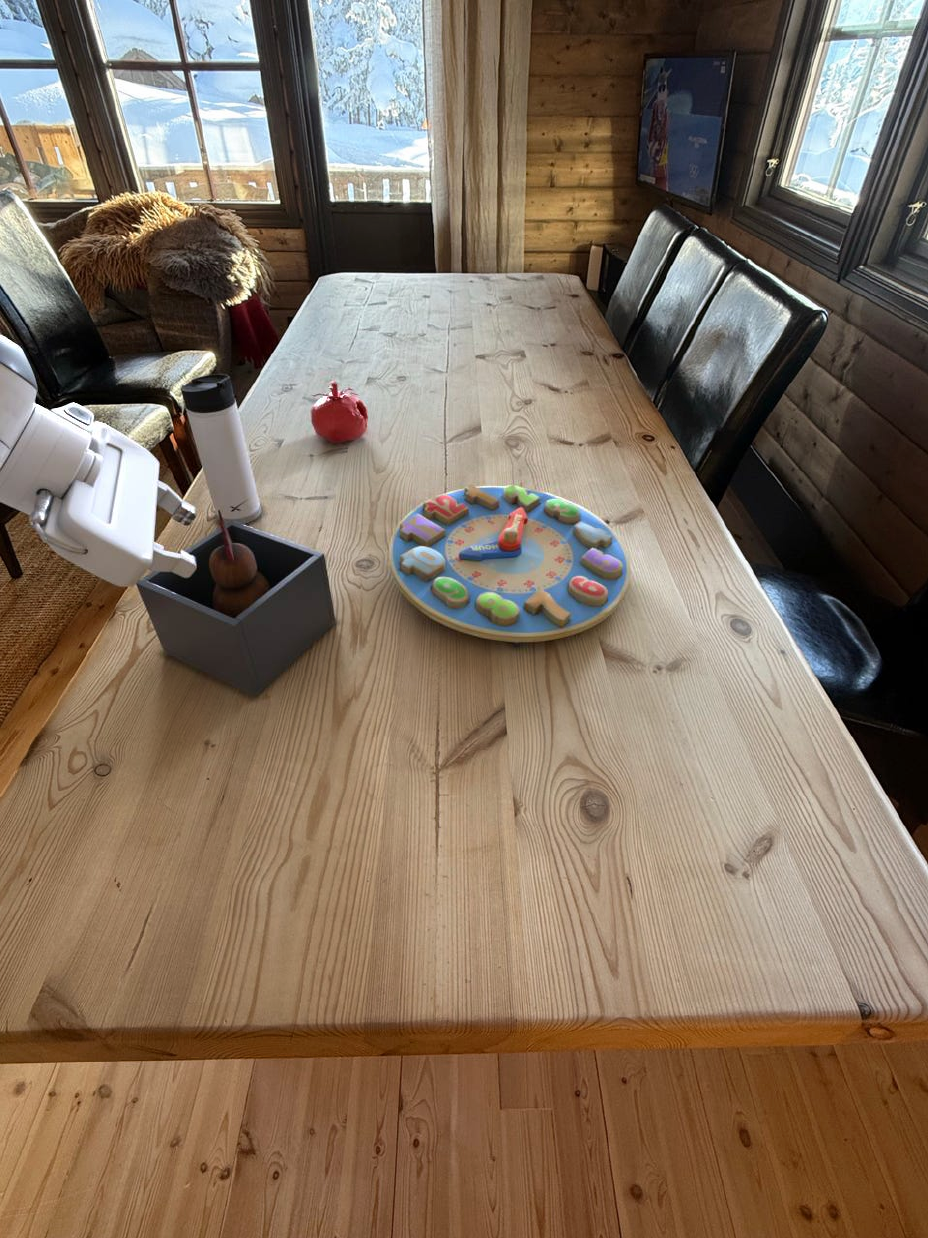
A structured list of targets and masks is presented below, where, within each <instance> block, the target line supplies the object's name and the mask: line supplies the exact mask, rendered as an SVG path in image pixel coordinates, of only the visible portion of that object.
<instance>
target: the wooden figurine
mask: <svg viewBox="0 0 928 1238" xmlns="http://www.w3.org/2000/svg"><path fill="white" fill-rule="evenodd" d="M218 513H219V518H220V521H219V523H220V527H221V529H222V534H223V539H224V545H223V546H220V547H218V548H217V549H215V550H214V551H213V552H212V554H211V557H210V560H209V567H210V571H211V575H212V577H213V580H214V581H215V582H216V583H217V584H216V586H215V589H214V592H213V610H215V611H217V612H219V613H222V614H224V615H226V616H229V617H231V618H233V619H235V618H236V617H237V616H238V615H239V614H241V613H242V612H243V611H244V610H246V609H247V608H248V607H250V606H251V605H252V604H253V603H255V602H256V601H257V600H258V599H260V598H261V597H262V596H263V595H265V594H266V593H267V592H268V591H270V590H271V587H270V584H269V582H268V581H267V580H266V579H265V577H264V576H263V575H262V574H261V573H260V572H258V571H257V564H256V561H255V558H254V555H253V553H252V551H251V550H250V549H249V548H248V547H247V546H245V545H242V544H239V543H232V542H231V539H230V536H229V533H228V531H227V528H226V525H225V523H224V520H223V517H222V515H221V512H220V510H218Z"/></svg>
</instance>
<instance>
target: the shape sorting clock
mask: <svg viewBox="0 0 928 1238" xmlns="http://www.w3.org/2000/svg"><path fill="white" fill-rule="evenodd" d="M388 562H389V569H390V572H391V575H392V578H393V581H394V583H395V584H396V586H397V588H398V590H399V591H400V593H401V594H402V595H403V596H404V597H405V598H406V600H408V602H409V603H410V604H412V606H414V608H416V609H417V610H418V611H420V612H421V613H422V614H424V615H425V616H427V617H428V618H429V619H431V620H433V621H435V622H436V623H439V624H441V625H442V626H445V627H447V628H449V629H453V630H455V631H457V632H460V633H464V634H467V635H470V636H474V637H477V638H480V639H481V638H482V639H487V640H493V641H498V642H509V643H514V644H516V645H518V644H519V643H538V642H546V641H547V642H548V641H553V640H558V639H563V638H567V637H571V636H575V635H577V634H579V633H583V632H585V631H588V630H590V629H591V628H593V627H595V626H597V625H599V624H601V623H602V622H603V621H605V620H606V619H607V618H608V617H610V615H612V614H613V613H614V612H615V611H616V610H617V609H618V608H619V606H620V604H621V603H622V602H623V600H624V598H625V596H626V594H627V591H628V588H629V584H630V581H631V577H632V576H631V575H632V567H631V560H630V557H629V555H628V552H627V548H626V546H625V545H624V543H623V542H622V540H621V539H620V537H619V536H618V534H617V533H616V532H615V531H614V530H613V529H612V528H611V526H609V525H608V524H607V523H606V521H604V520H602V519H601V518H600V517H599V516H598V515H596V514H595V513H594V512H592V511H590V510H589V509H587V508H585V507H583V506H582V505H580V504H577V503H576V502H574V501H571V500H568V499H566V498H563V497H561V496H558V495H556V494H553V493H550V492H547V491H541V490H538V489H533V488H527V487H522V486H519V485H515V484H510V485H509V484H508V485H480V486H474V485H473V484H470V485H468V486H465V488H460V489H454V490H451V491H447V492H445V493H442V494H437V495H435V496H434V497H431V498H429V499H427V500H425V501H423V502H421V503H419V504H418V505H417V506H416V507H414V508H413V509H412V510H410V511H409V512H408V513H407V514H406V515H404V517H403V518H402V519H401V520H400V522H399V523H398V525H397V526H396V528H395V529H394V531H393V533H392V534H391V538H390V540H389V545H388Z"/></svg>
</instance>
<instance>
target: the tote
mask: <svg viewBox="0 0 928 1238" xmlns="http://www.w3.org/2000/svg"><path fill="white" fill-rule="evenodd" d="M225 525H226V528H227V531H228V533H229V536H230V539H231V542H232V543H239V544H242V545H245V546H247V547H248V548H249V549H250V550H251V551H252V553H253V555H254V558H255V561H256V564H257V571H258V572H260V573H261V574H262V575H263V576H264V577H265V579H266V580H267V581H268V582H269V584H270V587H271V590H270V591H268V592H267V593H266V594H265V595H263V596H262V597H261V598H260V599H258V600H257V601H256V602H255V603H253V604H252V605H251V606H250V607H248V608H247V609H246V610H244V611H243V612H242V613H241V614H239V615H238V616H237V617H236V618H235V619H233V618H231V617H229V616H226V615H224V614H222V613H219V612H217V611H215V610H213V592H214V589H215V586H216V584H217V583H216V582H215V581H214V580H213V577H212V575H211V571H210V567H209V560H210V557H211V554H212V552H213V551H214V550H215V549H217V548H218V547H220V546H223V545H224V539H223V534H222V529H221V526H220V527H218V528H217V529H215V530H214V531H212V532H211V533H209V534H208V535H206V536H205V537H203V538H202V539H200V540H199V541H196V543H194V544H193V545H191V546H189V547H187V548H186V549H185V550H184V551H185V552H187V553H188V554H189V555H193V556H195V558H196V570H195V571H194V573H193V574H192V575H191V576H190V577H188V578H184V577H182V576H179V575H177V574H175V573H173V572H171V571H170V572H162V571H150V573H148V574H147V575H145V576H143V577H141V579H140V580H139V581H138V582H137V583H136V584H135V585H136V588H137V591H138V592H139V595H140V597H141V599H142V602H143V604H144V607H145V609H146V612H147V613H148V617H149V619H150V621H151V624H152V626H153V628H154V631H155V634H156V636H157V639H158V641H159V643H160V646H161V648H162V650H163V653H164V654H166V655H168V656H170V657H171V658H174V659H176V660H178V661H180V662H182V663H184V664H186V665H188V666H191V667H192V668H195V669H196V670H198V671H201V672H203V673H205V674H207V675H209V676H211V677H213V678H215V679H217V680H220V681H222V682H223V683H225V684H228V685H230V686H231V687H234V688H236V689H237V690H240V691H242V692H243V693H246V694H248V695H250V696H253V697H255V698H257V697H258V696H259V695H260V694H261V693H262V692H264V690H265V689H266V688H268V686H270V685H271V684H272V683H273V682H274V681H275V680H276V679H277V678H278V677H280V675H281V674H283V672H285V671H286V670H287V669H288V668H289V667H290V666H291V665H292V664H293V663H294V662H296V660H298V659H299V658H300V657H301V656H302V655H303V654H304V653H305V652H306V651H307V650H309V649H310V647H312V646H313V645H314V644H315V643H316V642H317V641H318V640H319V639H320V638H321V637H322V636H324V634H326V633H327V632H328V631H329V630H330V629H331V628H332V627H333V626H334V625H335V624H336V623H337V621H336V615H335V609H334V603H333V598H332V591H331V586H330V580H329V574H328V569H327V562H326V556H325V553H324V552H321V551H318V550H315V549H312V548H310V547H307V546H304V545H301V544H299V543H296V542H293V541H290V540H287V539H285V538H282V537H280V536H276V535H274V534H271V533H268V532H266V531H262V530H259V529H257V528H254V527H252V526H248V525H246V524H240V523H238V522H235V521H232V520H231V521H230V522H228V523H227V524H225Z"/></svg>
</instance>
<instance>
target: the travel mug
mask: <svg viewBox="0 0 928 1238" xmlns="http://www.w3.org/2000/svg"><path fill="white" fill-rule="evenodd" d="M232 384H233V383H232V379H231V377H230V376H229V375H228V374H225V373H213V374H206V375H203V376H198V377H195V378H193V379H191V381H189V382H187V383H186V384H182V385H181V386H180V392H181V395H182V399H183V401H184V408H185V411H186V415H187V418H188V422H189V425H190V428H191V432H192V436H193V440H194V442H195V443H194V444H195V447H196V450H197V453H198V457H199V460H200V462H201V467H202V470H203V474H204V477H205V481H206V484H207V488H208V491H209V495H210V498H211V501H212V506H213V509H214V512H215V515H216V519H217V521H219V522H220V518H219V513H218V510H220V512H221V515H222V517H223V520H224V523H225V524H227V523H228V522H230V521H231V520H232V521H235V522H238V523H240V524H243V525H246V524H249V523H252V522H253V521H256V519H258V518H259V517H260V515H261V513H262V508H261V503H260V498H259V495H258V490H257V486H256V481H255V477H254V473H253V469H252V464H251V460H250V456H249V452H248V447H247V443H246V438H245V435H244V430H243V426H242V422H241V417H240V414H239V413H240V412H239V410H238V409H239V408H238V405H237V401H236V398H235V394H234V389H233V386H232Z"/></svg>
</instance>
